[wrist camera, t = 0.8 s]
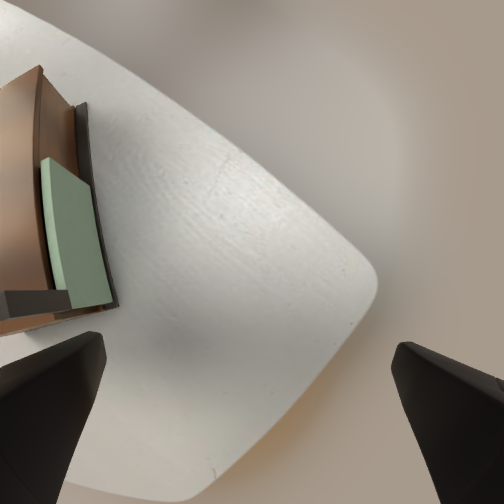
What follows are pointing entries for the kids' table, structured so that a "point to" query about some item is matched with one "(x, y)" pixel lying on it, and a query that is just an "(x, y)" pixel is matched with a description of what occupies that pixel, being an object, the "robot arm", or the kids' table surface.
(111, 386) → the kids' table surface
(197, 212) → the kids' table surface
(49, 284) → the cabinet
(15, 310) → the sliding door
